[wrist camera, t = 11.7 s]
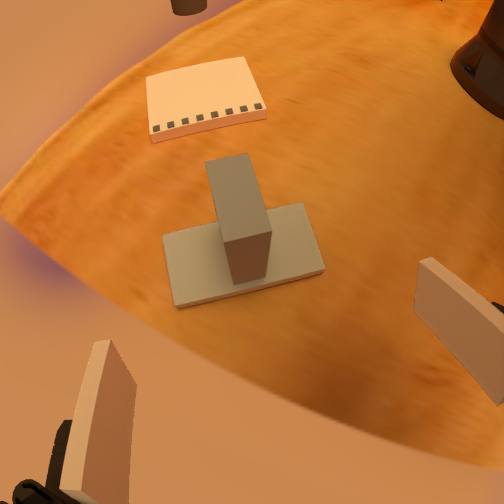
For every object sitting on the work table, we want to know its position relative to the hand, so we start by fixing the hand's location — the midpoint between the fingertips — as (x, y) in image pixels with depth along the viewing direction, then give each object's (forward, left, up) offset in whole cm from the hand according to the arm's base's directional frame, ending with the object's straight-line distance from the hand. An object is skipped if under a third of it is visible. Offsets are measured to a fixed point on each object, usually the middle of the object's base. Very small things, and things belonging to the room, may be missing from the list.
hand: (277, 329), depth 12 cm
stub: (-5, -6, -13) cm, 15 cm away
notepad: (-17, -21, -13) cm, 30 cm away
